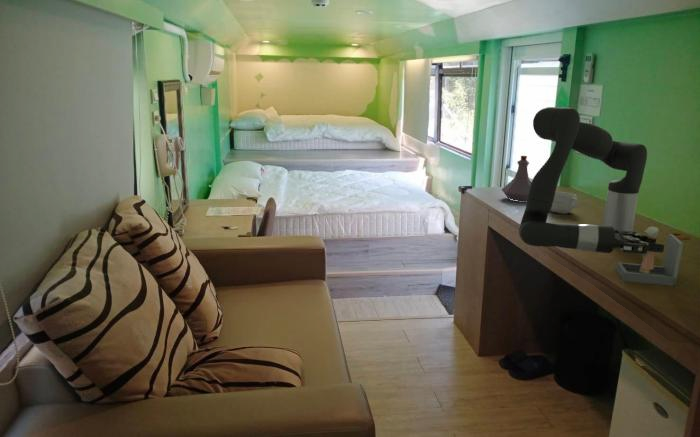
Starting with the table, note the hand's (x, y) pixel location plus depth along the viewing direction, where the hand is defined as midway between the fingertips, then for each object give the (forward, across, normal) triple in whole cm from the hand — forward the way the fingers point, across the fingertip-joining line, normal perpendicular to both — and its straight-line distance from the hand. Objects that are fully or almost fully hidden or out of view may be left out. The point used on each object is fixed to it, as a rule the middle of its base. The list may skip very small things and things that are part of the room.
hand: (659, 244), depth 144 cm
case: (-2, 0, +10) cm, 10 cm away
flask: (-31, +90, +11) cm, 96 cm away
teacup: (-15, +72, +10) cm, 74 cm away
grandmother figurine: (-2, 0, +8) cm, 8 cm away
